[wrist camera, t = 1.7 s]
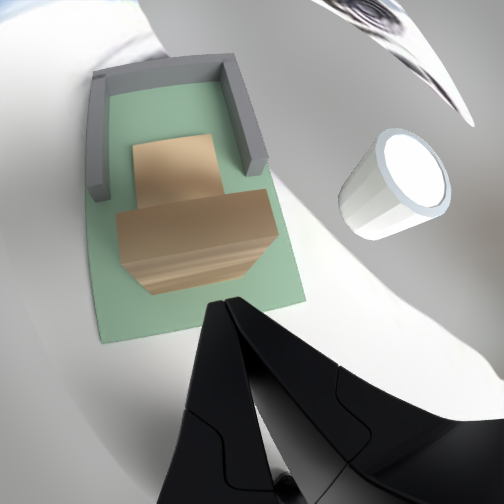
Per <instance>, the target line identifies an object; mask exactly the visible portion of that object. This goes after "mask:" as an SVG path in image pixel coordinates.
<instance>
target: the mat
mask: <svg viewBox="0 0 504 504" xmlns="http://www.w3.org/2000/svg"><path fill="white" fill-rule="evenodd" d="M90 93H91V90H90ZM89 102H90V99H89ZM88 112H89V109H88ZM87 124H88V120H87ZM204 134H211V135H212V140H213V144H214V149H215V153H216V158H217V162H218V167H219V171H220V176H221V180H222V184H223V189H224V193H225V194H230V193H237V192H244V191H251V190H259V189H266V190H267V194H268V197H269V201H270V204H271V208H272V211H273V215H274V219H275V222H276V226H277V230H278V233H279V236H278V237H277V238H276V239H275V240H274V241H273V243H272V244H271V245H270V246H269V247H268V248H267V250H266V251H265V252H264V253H263V254H262V255H261V256H260V258H259V259H258V260H257V261H256V262H255V263H254V264H253V266H252V267H251V268H250V269H249V270H248V271H247V272H246V274H245V275H244V276H243V277H242V278H238V279H234V280H229V281H224V282H219V283H214V284H209V285H204V286H199V287H194V288H189V289H184V290H178V291H173V292H168V293H163V294H158V295H151V294H150V293H149V292H148V291H147V290H146V289H145V288H144V287H143V286H142V285H141V284H140V283H139V282H138V281H137V280H136V279H135V278H134V277H133V276H132V275H131V274H130V273H129V272H128V271H127V270H126V269H125V268H124V267H123V266H122V265H121V261H120V253H119V245H118V236H117V226H116V215H115V214H116V213H121V212H125V211H131V210H136V209H138V205H137V196H136V185H135V173H134V160H133V145H138V144H144V143H150V142H155V141H161V140H168V139H174V138H181V137H188V136H196V135H204ZM86 140H87V134H86ZM109 172H110V194H111V200H106V201H102V202H97V203H95V201H94V200H93V198H92V197H91V195H90V194H89V192H88V190H87V189H86V181H85V204H86V227H87V242H88V254H89V264H90V273H91V281H92V289H93V296H94V303H95V309H96V315H97V321H98V326H99V332H100V337H101V342H102V344H105V343H111V342H118V341H124V340H130V339H135V338H141V337H147V336H152V335H158V334H163V333H168V332H174V331H179V330H184V329H189V328H194V327H199V326H202V325H203V320H204V316H205V312H206V307H207V304H208V303H209V302H213V301H218V300H223V301H225V299H227V298H232V297H237V296H239V297H242V298H243V299H244V300H246V301H247V302H249V303H250V304H251V305H253V306H254V307H256V308H257V309H258V310H260V311H261V312H266V311H270V310H274V309H278V308H282V307H286V306H290V305H294V304H298V303H301V302H305V301H306V298H305V294H304V291H303V287H302V283H301V279H300V275H299V272H298V268H297V264H296V260H295V257H294V253H293V249H292V246H291V242H290V238H289V235H288V231H287V228H286V224H285V221H284V217H283V214H282V210H281V207H280V203H279V200H278V196H277V193H276V190H275V186H274V183H273V180H272V176H271V173H270V170H269V166H268V163H266V165H265V167H264V169H263V172H262V174H261V175H259V176H250V177H245V173H244V169H243V166H242V162H241V158H240V154H239V151H238V147H237V143H236V139H235V136H234V132H233V128H232V125H231V121H230V117H229V113H228V110H227V106H226V102H225V99H224V95H223V92H222V88H221V84H220V81H215V82H203V83H192V84H183V85H174V86H167V87H160V88H153V89H147V90H141V91H135V92H130V93H124V94H119V95H114V96H110V112H109ZM85 178H86V157H85Z"/></svg>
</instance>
